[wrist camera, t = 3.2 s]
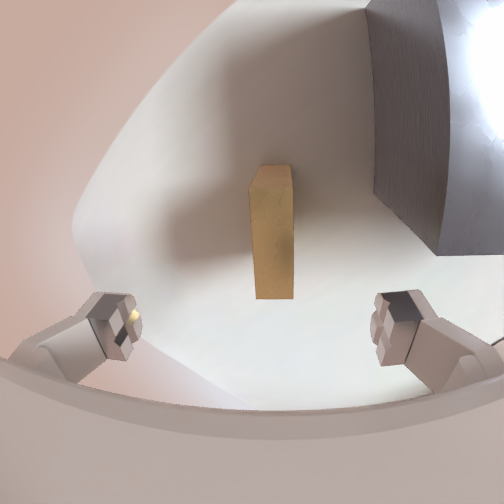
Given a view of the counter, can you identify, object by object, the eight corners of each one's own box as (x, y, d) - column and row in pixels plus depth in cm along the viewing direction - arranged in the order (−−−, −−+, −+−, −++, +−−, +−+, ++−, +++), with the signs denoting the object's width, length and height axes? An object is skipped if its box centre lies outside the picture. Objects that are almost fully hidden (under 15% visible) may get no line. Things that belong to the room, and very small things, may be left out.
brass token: (291, 245, 22) (293, 299, 15) (264, 245, 22) (256, 299, 16) (289, 164, 19) (292, 187, 13) (260, 165, 19) (248, 188, 13)
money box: (508, 203, 18) (582, 252, 9) (373, 193, 19) (436, 256, 10) (509, 51, 12) (587, 46, 3) (365, 7, 13) (418, -57, 4)
